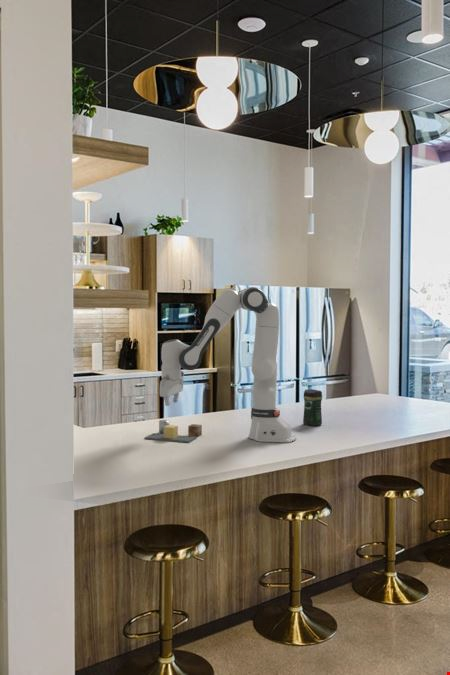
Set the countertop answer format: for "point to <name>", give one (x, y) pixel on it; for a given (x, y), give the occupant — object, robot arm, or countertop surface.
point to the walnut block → (194, 430)
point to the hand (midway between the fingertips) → (171, 404)
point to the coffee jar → (312, 407)
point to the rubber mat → (178, 439)
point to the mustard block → (170, 431)
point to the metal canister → (162, 425)
